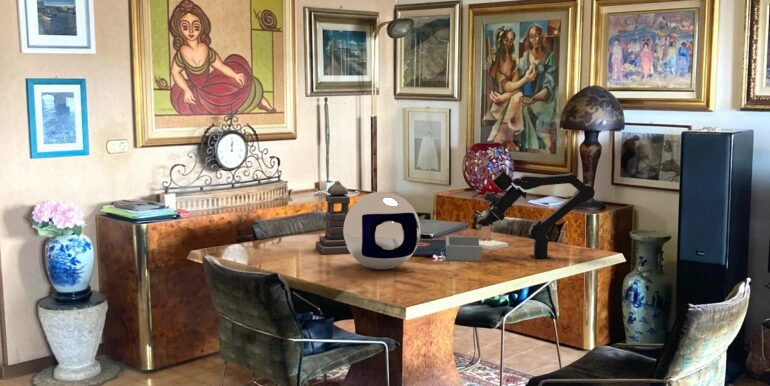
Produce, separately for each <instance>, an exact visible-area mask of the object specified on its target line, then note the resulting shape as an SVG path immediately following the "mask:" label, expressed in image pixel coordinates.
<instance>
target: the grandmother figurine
mask: <svg viewBox="0 0 770 386" xmlns="http://www.w3.org/2000/svg"><path fill="white" fill-rule="evenodd" d="M488 215H489V211H488V209H487V210H486V209H485V210H483V211H482V213H481V217H482V218H481V219H479V221H477V223H476V226H475V227H476V228H479V226H481V228H480V230H481V231H480V232H481V233H480V234H481V240H482V241H486V240H487V241H492V240H493V239H492V235H491V228H492V230H494V229H495V228H496V227H495V225H494V222H493V223H491V224H488V225H486V226H482V223H483V222H484V220H485V219H486V218H487V216H488Z"/></svg>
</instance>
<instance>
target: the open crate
mask: <svg viewBox="0 0 770 386" xmlns="http://www.w3.org/2000/svg"><path fill="white" fill-rule="evenodd" d="M479 241H480V237H479V236H466V235H465V236H460V235H459V236H457V235H455V236H454V235H446V236H445V260H446V262H447V261H450V262H451V261H453V262H455V261H456V262H460V261H461V262H482V260H483V259H482V255H483V254H482V251H483V248H482V246H479Z"/></svg>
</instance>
